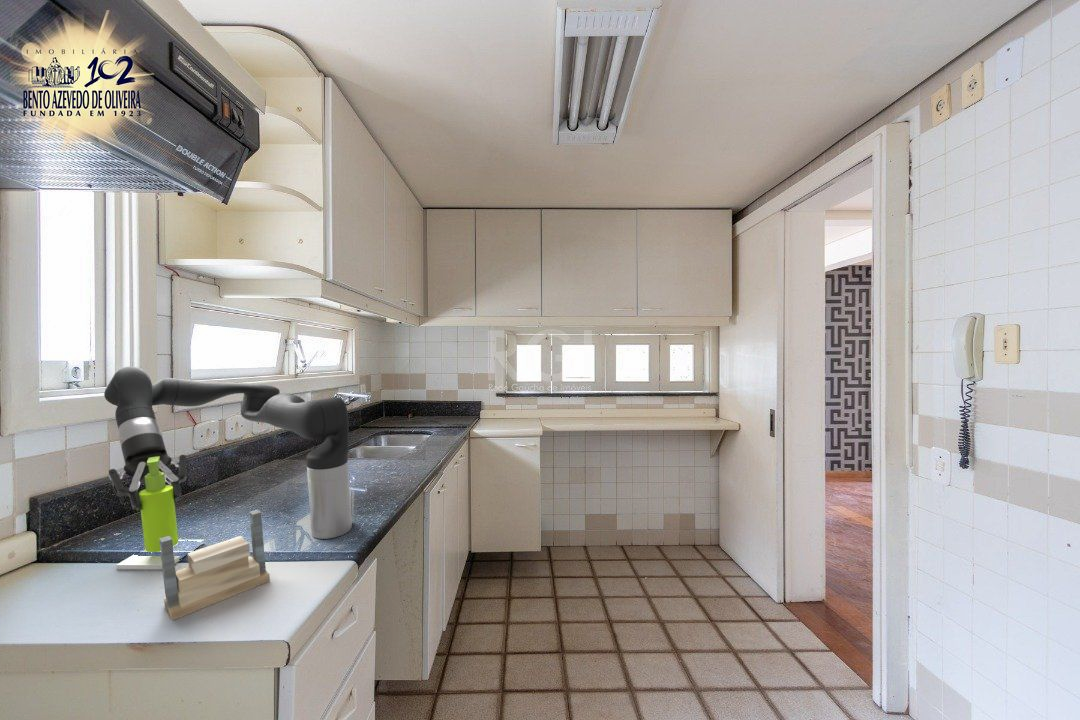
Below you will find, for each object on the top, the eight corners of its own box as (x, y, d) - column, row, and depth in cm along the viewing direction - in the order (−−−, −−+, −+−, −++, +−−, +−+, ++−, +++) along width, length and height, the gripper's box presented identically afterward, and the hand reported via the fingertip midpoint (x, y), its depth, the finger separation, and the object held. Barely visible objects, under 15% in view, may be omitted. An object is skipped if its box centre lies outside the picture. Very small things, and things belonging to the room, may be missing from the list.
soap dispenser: (179, 535, 111) (171, 452, 108) (177, 547, 105) (168, 460, 103) (147, 542, 107) (137, 457, 105) (143, 555, 102) (133, 466, 99)
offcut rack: (164, 606, 88) (156, 535, 86) (259, 570, 100) (254, 506, 98) (172, 620, 84) (164, 545, 82) (269, 580, 96) (264, 514, 94)
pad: (159, 543, 112) (158, 539, 112) (204, 543, 111) (204, 539, 111) (116, 569, 101) (116, 564, 101) (166, 569, 100) (166, 565, 100)
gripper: (178, 443, 117) (195, 501, 111) (100, 457, 107) (114, 523, 100) (181, 425, 113) (199, 485, 107) (100, 439, 103) (115, 506, 96)
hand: (158, 503), depth 104 cm, fingers closed on soap dispenser, 6 cm apart
